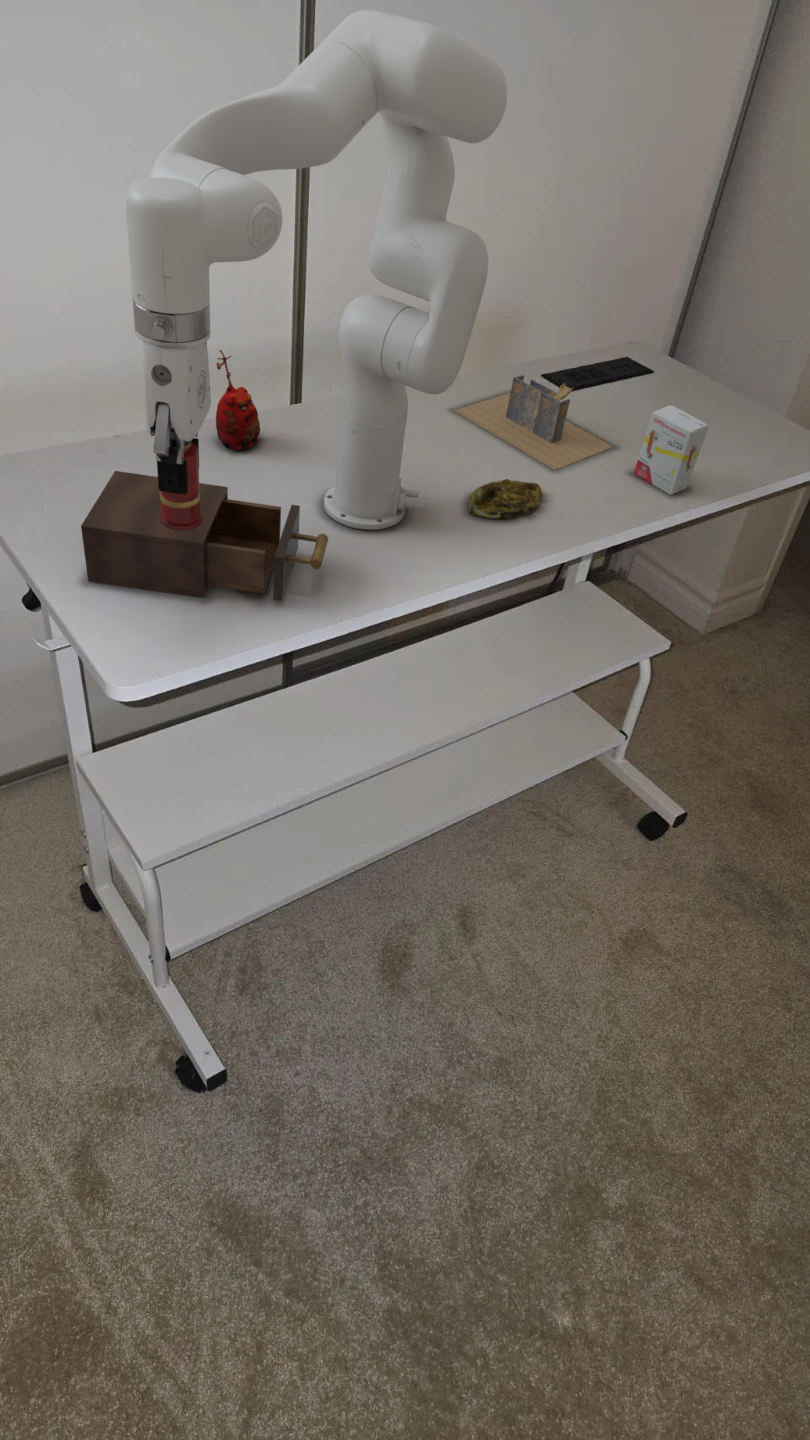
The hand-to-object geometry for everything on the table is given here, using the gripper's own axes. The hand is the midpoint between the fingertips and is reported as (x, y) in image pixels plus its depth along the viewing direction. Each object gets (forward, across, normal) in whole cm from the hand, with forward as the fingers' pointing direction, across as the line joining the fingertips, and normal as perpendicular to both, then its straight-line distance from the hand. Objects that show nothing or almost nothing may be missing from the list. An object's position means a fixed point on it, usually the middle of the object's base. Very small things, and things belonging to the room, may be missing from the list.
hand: (179, 478), depth 110 cm
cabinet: (+21, +13, +7) cm, 25 cm away
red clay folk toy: (+21, +49, +4) cm, 53 cm away
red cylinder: (+5, 0, 0) cm, 5 cm away
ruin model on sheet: (+20, +70, -46) cm, 86 cm away
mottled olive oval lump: (+21, +42, -41) cm, 62 cm away
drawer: (+20, +13, -6) cm, 25 cm away
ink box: (+20, +57, -68) cm, 91 cm away
